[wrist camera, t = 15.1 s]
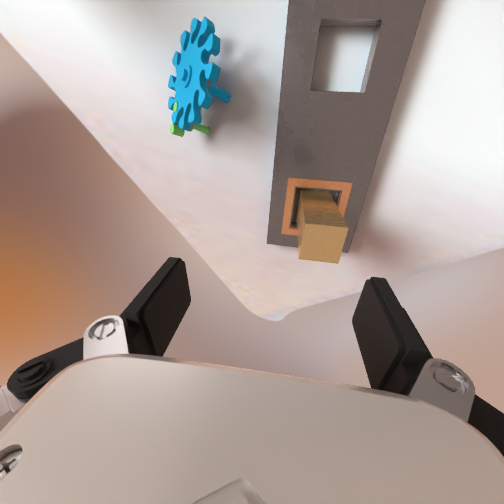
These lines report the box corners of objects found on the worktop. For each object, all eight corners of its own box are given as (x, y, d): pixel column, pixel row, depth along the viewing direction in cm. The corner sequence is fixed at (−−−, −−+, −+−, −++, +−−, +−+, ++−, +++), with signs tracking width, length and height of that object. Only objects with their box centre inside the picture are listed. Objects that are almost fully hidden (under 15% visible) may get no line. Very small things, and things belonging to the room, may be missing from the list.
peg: (300, 189, 32) (305, 223, 21) (329, 192, 31) (348, 227, 21) (296, 216, 34) (298, 259, 24) (323, 219, 33) (338, 263, 23)
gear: (183, -5, 22) (220, 35, 18) (231, 33, 26) (271, 72, 22) (154, 106, 29) (176, 154, 25) (196, 122, 33) (221, 166, 29)
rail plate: (291, -20, 22) (291, -33, 20) (423, -22, 21) (437, -36, 19) (267, 237, 36) (266, 244, 34) (345, 246, 35) (348, 253, 33)
